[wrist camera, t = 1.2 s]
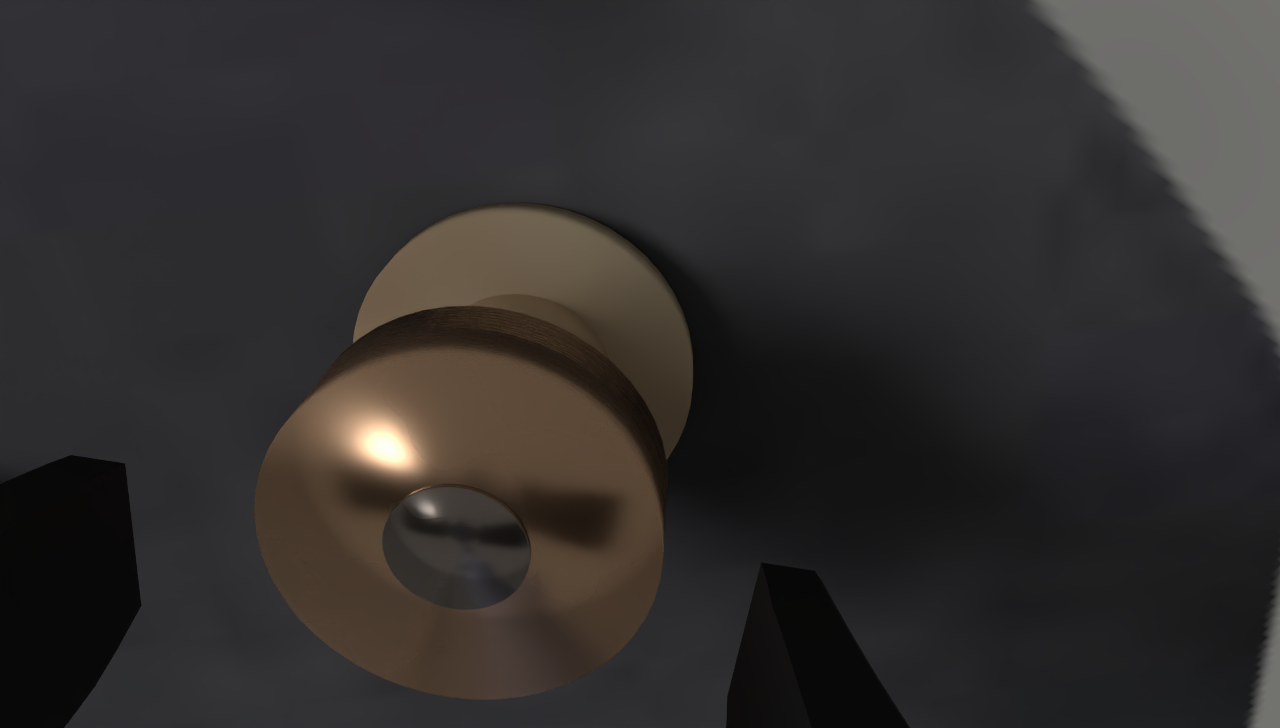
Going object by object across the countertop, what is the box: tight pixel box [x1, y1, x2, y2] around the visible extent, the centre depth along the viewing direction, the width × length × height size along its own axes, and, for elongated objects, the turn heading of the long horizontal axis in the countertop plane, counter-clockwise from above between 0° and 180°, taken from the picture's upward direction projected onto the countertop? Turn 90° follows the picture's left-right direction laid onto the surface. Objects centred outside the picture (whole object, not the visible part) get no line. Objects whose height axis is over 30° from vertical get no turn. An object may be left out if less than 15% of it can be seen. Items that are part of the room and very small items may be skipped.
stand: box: [353, 203, 693, 460], centre depth 15 cm, size 6×6×4 cm
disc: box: [254, 306, 668, 699], centre depth 12 cm, size 5×5×2 cm
